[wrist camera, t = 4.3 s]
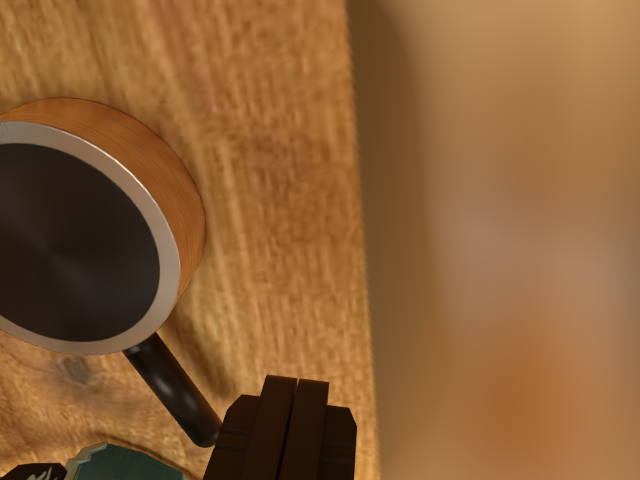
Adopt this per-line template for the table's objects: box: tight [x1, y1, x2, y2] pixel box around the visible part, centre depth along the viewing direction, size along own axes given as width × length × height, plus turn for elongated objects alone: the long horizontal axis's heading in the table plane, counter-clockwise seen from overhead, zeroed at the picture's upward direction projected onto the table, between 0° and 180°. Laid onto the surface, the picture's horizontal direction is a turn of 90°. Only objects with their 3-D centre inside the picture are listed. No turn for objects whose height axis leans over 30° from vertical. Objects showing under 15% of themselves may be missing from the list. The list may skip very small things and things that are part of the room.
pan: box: [0, 98, 222, 448], centre depth 20 cm, size 15×9×3 cm, turn 26°
